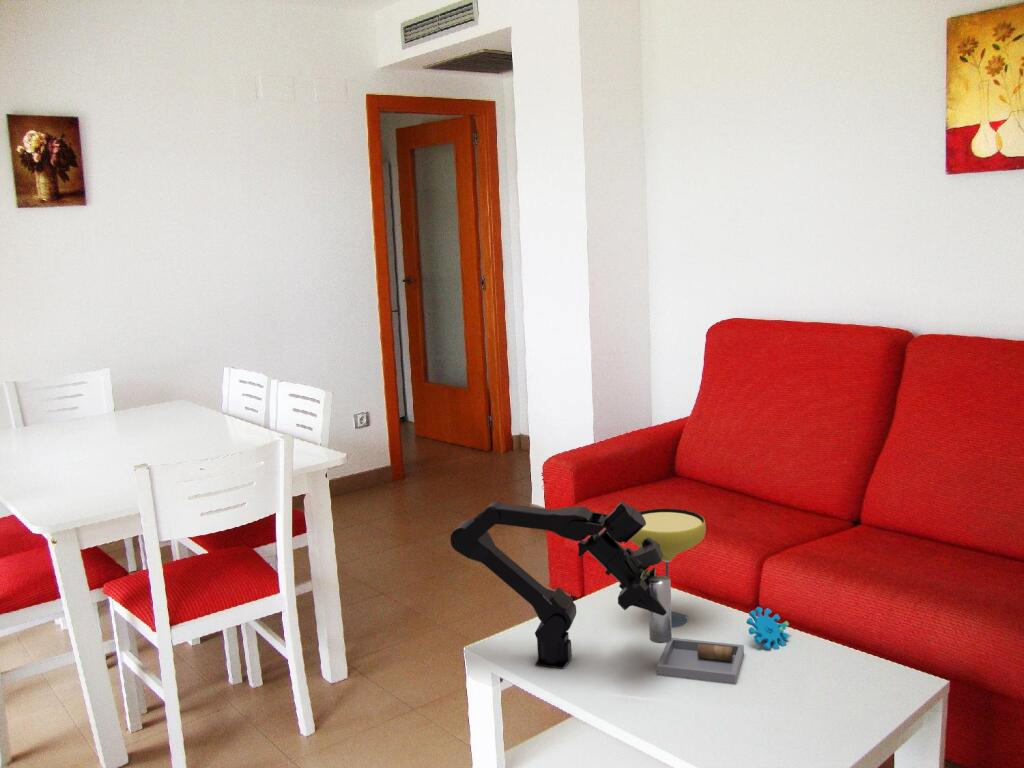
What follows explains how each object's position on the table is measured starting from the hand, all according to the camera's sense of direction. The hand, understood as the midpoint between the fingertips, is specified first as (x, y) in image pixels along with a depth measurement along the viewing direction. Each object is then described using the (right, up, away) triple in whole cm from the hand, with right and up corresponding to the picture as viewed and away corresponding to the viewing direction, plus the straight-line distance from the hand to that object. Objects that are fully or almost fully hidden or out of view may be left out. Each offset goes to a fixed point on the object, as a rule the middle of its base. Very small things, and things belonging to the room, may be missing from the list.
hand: (666, 609), depth 198 cm
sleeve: (-1, -7, +1) cm, 7 cm away
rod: (+11, -12, +5) cm, 17 cm away
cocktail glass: (+5, -9, +26) cm, 28 cm away
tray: (+8, -13, +3) cm, 15 cm away
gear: (+25, -11, +12) cm, 29 cm away
